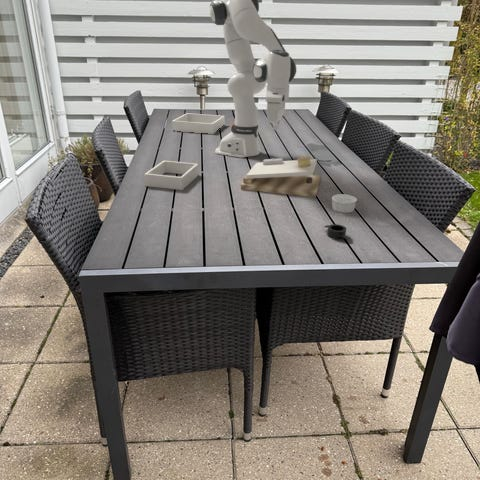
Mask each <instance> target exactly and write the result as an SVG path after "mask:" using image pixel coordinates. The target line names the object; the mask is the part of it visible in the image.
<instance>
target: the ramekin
mask: <svg viewBox="0 0 480 480" xmlns="http://www.w3.org/2000/svg"><path fill="white" fill-rule="evenodd" d="M357 201H358V198H357V197H355V196H353V195H351V194H343V193H340V194H339V193H338V194H334V195H332V197H331V204H332V205H331V206H332V210H333V211H335V212H338V213H343V214H347V213H352V212H354V211H355V208H356V204H357Z"/></svg>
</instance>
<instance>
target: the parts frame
mask: <svg viewBox="0 0 480 480" xmlns="http://www.w3.org/2000/svg"><path fill="white" fill-rule="evenodd" d="M199 169H200V168H199V163H193V162H192V163H191V162H183V161H173V160H172V161H171V160H162V161H161V162H160V163H158V164H156V165H154V167H152V168H151V169H149V170H148V171H147V172H145V173H144V174H143V176H144V177H143V178H144V187H150V188H151V187H153V188H161V189H171V190H177V191H183V190H184V189H185V188H186V187H187V186H189V184H191V183H192V181H194V180H195V179H196V178H197V177H198V176H199V173H200V172H199ZM166 173H169V174H175V175H176V174H179V175H181V176H175V175H166ZM164 174H165V175H164Z"/></svg>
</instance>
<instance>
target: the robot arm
mask: <svg viewBox="0 0 480 480" xmlns="http://www.w3.org/2000/svg"><path fill="white" fill-rule="evenodd" d="M259 10H260V3H259V0H212V1H211V3H210V5H209V15H210V18H211V20H212V22H213V24H215V25H216V26H222V30H223V37H224V43H225V47H226V52H227V55H228V59H229V62H230V63H231V64H232V65H233V66H234V68H235V70H236V72H237V73H236V74H234V75H233V76H231V77H230V78H228V81H227V91H228V93H229V94H230V95H231V97H232V100H233V104H234V115H235V116H234V123H232V124H231V126H230V132H229V133H227V134H226V135H225V136H223V138H221V140H220V142H219V146H218V147H216V148H215V151H214V153H215V154H216V155H221V156H227V155H228V157H235V158H246V157H254V156H258V155H259V154H260V149H259V140H258V136H259V124H258V123H259V122H258V119H259V118H258V117H259V110H258V109H259V108H258V107H257V105H256V102H255V97H254V96H255V95H257V94H259V93H260V92H262V91H263V90H265V89H264V88H266V96H265V102H266V119H267V123H271V124H272V128H273V130H274V131H277V130H279V126H280V121H281V118H282V117H283V115H285V112H286V101H289V97H290V83H291V82H292V81H293V79H294V78H295V77H296V74H297V65H296V63H295V61H294V59H293V58H292V57H291V56H290V53H289V52H288V51H286V49H285V47H284V46H283V44H282V43H281V41H280V39H279V38H278V36H277V34H276V32H275V31H274V29H273V28H271V27H270V26H269V25H268V24H267V23H266V22H265V21H264V20H263V18H261V15H260V14H259ZM251 42H253V43H256V44H259V45H262V46H263V47H265V48H266V49H267V50H268V51H269V52H268V55H266V56H264V57H261V58H258V59H257V60H255V57H254V53H253V51H252V47H251V46H252V45H251Z"/></svg>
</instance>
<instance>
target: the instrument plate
mask: <svg viewBox="0 0 480 480" xmlns="http://www.w3.org/2000/svg"><path fill="white" fill-rule="evenodd" d="M317 163H318V161H317V158H313V159H312V158H311V156H310V157H309V156H300V157H298V158H297V159H295V160H284V159H283V158H282V157H281V158H280V157H279V158H267V159H263V160H262V162H255V164H254V165H253V166H252V167H253V168H252V167H251V168H252V169H251V168H250V170H249V171H248V172H249V173H248V172H247V173H248V174H247V173H246V175H247V179H251V178H270V177H289V176H308V175H314V174H313V173H314V171H315V168H316V166H317Z"/></svg>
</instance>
